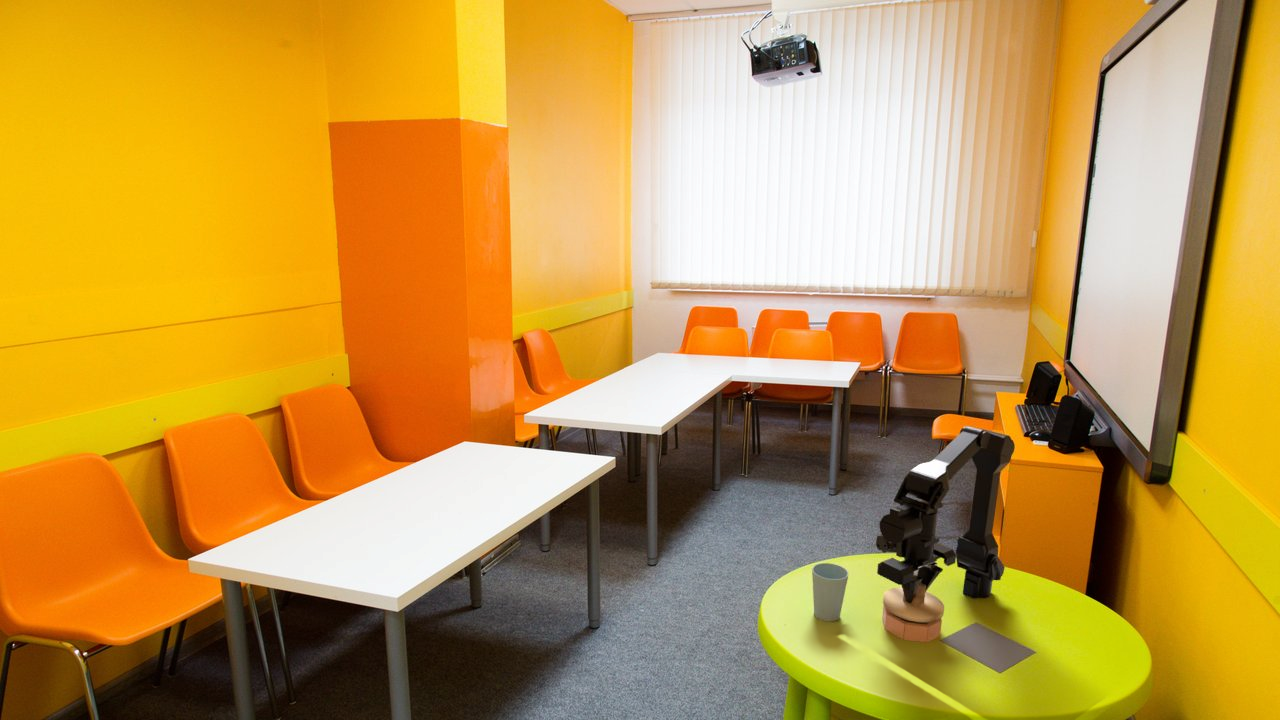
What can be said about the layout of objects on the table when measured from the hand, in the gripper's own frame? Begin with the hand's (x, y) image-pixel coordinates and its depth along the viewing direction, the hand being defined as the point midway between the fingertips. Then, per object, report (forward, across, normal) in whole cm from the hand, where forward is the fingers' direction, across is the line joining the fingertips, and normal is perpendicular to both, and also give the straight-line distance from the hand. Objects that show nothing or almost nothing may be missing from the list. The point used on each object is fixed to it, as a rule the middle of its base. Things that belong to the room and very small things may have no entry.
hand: (913, 600), depth 156 cm
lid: (+2, 0, 0) cm, 2 cm away
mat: (+7, -7, +13) cm, 16 cm away
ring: (+7, 0, 0) cm, 7 cm away
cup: (+7, +10, -14) cm, 19 cm away
